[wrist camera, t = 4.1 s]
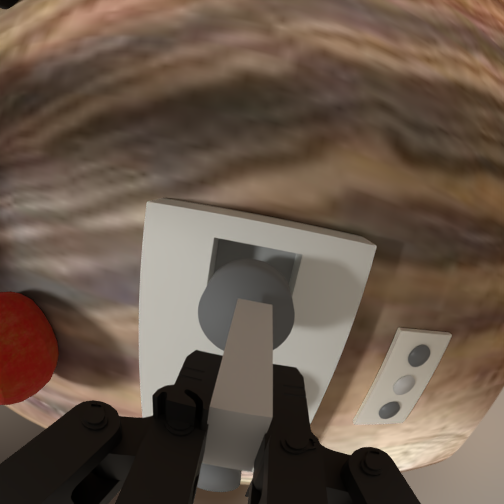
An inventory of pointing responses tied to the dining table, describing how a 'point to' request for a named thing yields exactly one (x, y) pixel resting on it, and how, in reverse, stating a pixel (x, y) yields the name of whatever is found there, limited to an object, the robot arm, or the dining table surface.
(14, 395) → the apple
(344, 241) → the board
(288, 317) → the button
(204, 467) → the button
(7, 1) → the cup
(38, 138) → the dining table surface
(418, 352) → the pattern card
